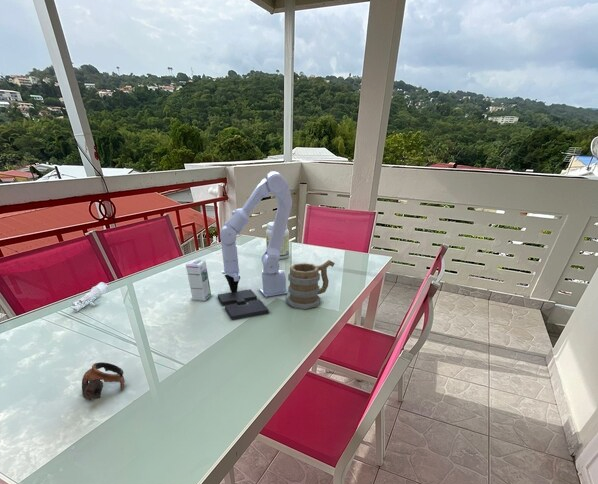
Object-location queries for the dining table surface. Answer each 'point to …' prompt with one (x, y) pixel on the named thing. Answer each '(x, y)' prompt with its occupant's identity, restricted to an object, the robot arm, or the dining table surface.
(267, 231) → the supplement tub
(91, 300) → the toy cannon
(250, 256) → the dining table surface
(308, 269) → the tankard
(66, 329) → the dining table surface
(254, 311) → the charcoal pad
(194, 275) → the syrup box
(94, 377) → the brown looped strap
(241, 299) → the black pad
